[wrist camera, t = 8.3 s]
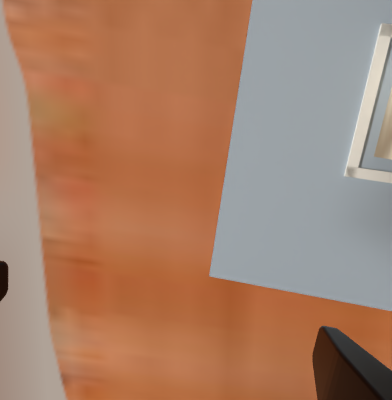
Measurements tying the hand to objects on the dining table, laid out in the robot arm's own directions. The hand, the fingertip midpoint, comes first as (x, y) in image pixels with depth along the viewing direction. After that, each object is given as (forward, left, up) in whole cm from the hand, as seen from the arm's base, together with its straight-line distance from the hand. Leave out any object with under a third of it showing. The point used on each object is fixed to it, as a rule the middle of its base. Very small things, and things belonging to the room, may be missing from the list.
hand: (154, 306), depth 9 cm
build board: (+4, -9, -12) cm, 16 cm away
